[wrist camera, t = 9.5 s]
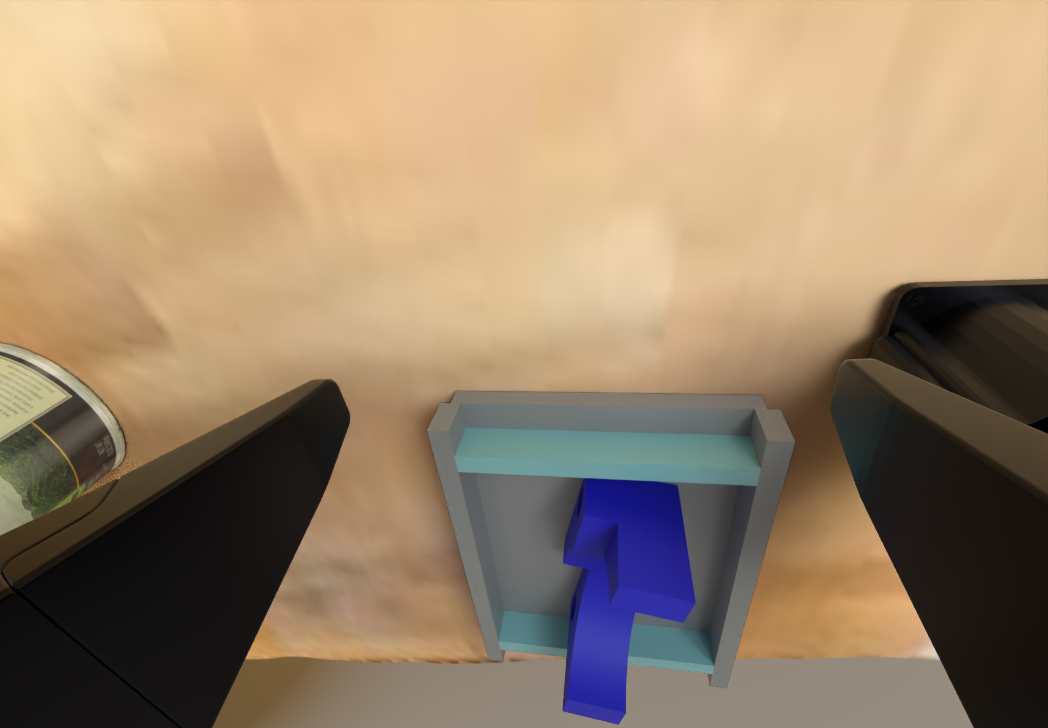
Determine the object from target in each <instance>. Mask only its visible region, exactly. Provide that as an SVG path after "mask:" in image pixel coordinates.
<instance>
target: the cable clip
mask: <svg viewBox="0 0 1048 728" xmlns="http://www.w3.org/2000/svg"><path fill="white" fill-rule="evenodd" d="M563 564H567V565H571V566H576V567H580V568H583V570H582V572H581V575H580V578H579V581H578V584H577V586H576V589H575V592H574V595H573V598H572V600H571V605H570V618H569V632H568V645H567V658H566V672H565V684H564V699H563V711H564V712H568V713H573V714H577V715H581V716H585V717H589V718H593V719H597V720H602V721H606V722H610V723H614V724H619V723H620V721H621V720H622V718H623V717H624V715H625V714H626V677H627V663H628V653H629V645H630V637H631V631H632V626H633V620H634V616H635V612H637V613H641V614H646V615H650V616H655V617H659V618H663V619H668V620H672V621H677V622H681V623H684V621H685V619H686V618H687V616H688V615H689V613H690V612H691V610H692V608H693V607H694V605H695V604H696V601H695V594H694V588H693V581H692V574H691V568H690V561H689V555H688V548H687V542H686V535H685V528H684V522H683V515H682V509H681V502H680V496H679V489H678V486H677V485H673V484H668V483H663V482H659V481H639V480H618V479H597V478H583V482H582V485H581V488H580V492H579V495H578V498H577V502H576V505H575V508H574V512H573V515H572V518H571V521H570V525H569V528H568V531H567V535H566V538H565V544H564V554H563Z"/></svg>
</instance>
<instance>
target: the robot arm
mask: <svg viewBox="0 0 1048 728" xmlns="http://www.w3.org/2000/svg"><path fill="white" fill-rule="evenodd" d="M913 294H918V296H917V297H916V299H914V300H912V301H909V302H907V300H908V299H909V297H910V296H912V295H913ZM831 414H832V417H833V420H834V423H835V426H836V429H837V432H838V435H839V438H840V441H841V444H842V446H843V449H844V452H845V455H846V458H847V461H848V464H849V467H850V470H851V473H852V475H853V478H854V481H855V484H856V487H857V489H858V492H859V495H860V497H861V499H862V501H863V504H864V506H865V508H866V510H867V512H868V514H869V516H870V518H871V520H872V522H873V524H874V526H875V528H876V530H877V533H878V535H879V537H880V539H881V541H882V543H883V545H884V547H885V549H886V551H887V553H888V555H889V557H890V559H891V561H892V563H893V565H894V567H895V569H896V571H897V573H898V575H899V577H900V579H901V581H902V583H903V585H904V587H905V589H906V591H907V593H908V595H909V597H910V599H911V601H912V604H913V606H914V608H915V610H916V612H917V614H918V616H919V618H920V620H921V622H922V624H923V626H924V628H925V630H926V632H927V634H928V636H929V638H930V640H931V642H932V644H933V646H934V648H935V650H936V652H937V654H938V656H939V658H940V660H941V662H942V664H943V666H944V668H945V670H946V672H947V674H948V676H949V679H950V681H951V683H952V685H953V687H954V689H955V691H956V693H957V695H958V697H959V699H960V701H961V703H962V705H963V707H964V709H965V711H966V713H967V715H968V717H969V719H970V721H971V723H972V725H973V727H974V728H1048V279H1037V280H997V281H957V282H918V283H909V284H907V285H904V286H902V287H901V288H900V289H899V290H898V291H897V292H896V294H895V296H894V298H893V301H892V304H891V307H890V310H889V313H888V316H887V318H886V321H885V324H884V327H883V330H882V333H881V336H880V337H879V338H878V339H877V340H876V341H875V342H874V345H873V348H872V351H871V353H870V356H869V359H848V360H845V361H844V362H842V364H841V365H840V368H839V371H838V375H837V379H836V383H835V387H834V391H833V395H832V399H831ZM349 423H350V412H349V409H348V407H347V405H346V402H345V400H344V398H343V396H342V393H341V391H340V389H339V386H338V384H337V383H336V382H335V381H334V380H332V379H318V380H312V381H309V382H307V383H305V384H303V385H301V386H299V387H297V388H295V389H293V390H291V391H289V392H287V393H285V394H283V395H282V396H280V397H278V398H276V399H274V400H272V401H270V402H268V403H266V404H264V405H262V406H260V407H258V408H256V409H254V410H252V411H250V412H248V413H246V414H244V415H242V416H240V417H238V418H236V419H234V420H232V421H230V422H228V423H226V424H224V425H222V426H220V427H218V428H216V429H214V430H212V431H210V432H208V433H206V434H204V435H202V436H200V437H198V438H196V439H194V440H192V441H190V442H188V443H186V444H184V445H183V446H181V447H179V448H177V449H175V450H173V451H171V452H169V453H167V454H165V455H163V456H161V457H159V458H157V459H155V460H153V461H151V462H149V463H147V464H145V465H143V466H141V467H139V468H137V469H135V470H133V471H131V472H129V473H127V474H125V475H123V476H122V477H121V478H120V479H115V480H113V481H111V482H109V483H107V484H105V485H103V486H101V487H99V488H97V489H95V490H93V491H91V492H89V493H87V494H85V495H83V496H81V497H79V498H77V499H75V500H73V501H71V502H69V503H67V504H65V505H63V506H61V507H59V508H57V509H55V510H53V511H51V512H48V513H46V514H44V515H42V516H40V517H38V518H36V519H34V520H32V521H29V522H27V523H25V524H23V525H21V526H19V527H17V528H15V529H13V530H10V531H8V532H6V533H4V534H2V535H0V728H212V727H213V725H214V723H215V721H216V719H217V716H218V715H219V713H220V710H221V708H222V706H223V704H224V702H225V700H226V698H227V696H228V694H229V692H230V690H231V687H232V685H233V683H234V681H235V679H236V677H237V675H238V673H239V671H240V668H241V666H242V664H243V662H244V660H245V658H246V656H247V654H248V652H249V650H250V648H251V646H252V643H253V641H254V639H255V637H256V635H257V633H258V631H259V629H260V627H261V625H262V623H263V620H264V618H265V616H266V614H267V612H268V610H269V608H270V606H271V604H272V602H273V599H274V597H275V595H276V593H277V591H278V589H279V587H280V585H281V583H282V581H283V579H284V576H285V574H286V572H287V570H288V568H289V566H290V564H291V562H292V560H293V558H294V556H295V553H296V551H297V549H298V547H299V545H300V543H301V541H302V539H303V537H304V535H305V532H306V530H307V528H308V526H309V524H310V522H311V520H312V518H313V516H314V514H315V512H316V509H317V507H318V505H319V503H320V501H321V499H322V497H323V494H324V492H325V490H326V487H327V485H328V482H329V480H330V477H331V474H332V471H333V469H334V466H335V463H336V460H337V457H338V455H339V452H340V449H341V446H342V443H343V441H344V438H345V435H346V432H347V429H348V427H349Z"/></svg>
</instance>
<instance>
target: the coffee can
mask: <svg viewBox="0 0 1048 728" xmlns="http://www.w3.org/2000/svg"><path fill="white" fill-rule="evenodd" d="M125 452H126V445H125V439H124V435H123V432H122V430H121V428H120V426H119V424H118V422H117V421H116V419H115V417H114V415H113V414H112V412H111V411H110V410H109V409H108V407H107V406H106V405H105V404H104V403H103V401H102V400H101V399H100V398H99V397H98V396H97V395H96V394H95V393H94V392H93V391H92V390H91V389H90V388H89V387H87V386H86V385H85V384H84V383H82V382H81V381H80V380H79V379H78V378H76V377H75V376H73V375H72V374H71V373H69V372H68V371H66V370H65V369H63V368H62V367H60V366H58V365H57V364H55V363H53V362H52V361H50V360H48V359H46V358H44V357H42V356H40V355H37V354H35V353H33V352H31V351H28V350H26V349H23V348H20V347H18V346H14V345H10V344H3V343H0V535H2V534H4V533H6V532H8V531H10V530H13V529H15V528H17V527H19V526H21V525H23V524H25V523H27V522H29V521H32V520H34V519H36V518H38V517H40V516H42V515H44V514H46V513H48V512H51V511H53V510H55V509H57V508H59V507H61V506H63V505H65V504H67V503H69V502H71V501H73V500H75V499H76V498H77V497H79V496H80V495H81V494H82V493H84V492H85V491H86V490H87V489H88V488H89V487H91V486H92V485H93V484H94V483H96V482H97V481H98V480H99V479H100V478H102V477H103V476H104V475H105V474H107V473H108V472H109V471H111V470H113V469H114V468H116V467H117V466H118V465H119V464H120V463H121V462H122V460H123V459H124V456H125Z"/></svg>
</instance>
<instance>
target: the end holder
mask: <svg viewBox="0 0 1048 728" xmlns="http://www.w3.org/2000/svg"><path fill="white" fill-rule="evenodd" d="M427 433H428V436H429V440H430V444H431V447H432V451H433V455H434V459H435V462H436V466H437V470H438V473H439V477H440V481H441V485H442V488H443V492H444V496H445V499H446V503H447V507H448V511H449V514H450V518H451V522H452V525H453V529H454V533H455V537H456V540H457V544H458V548H459V551H460V555H461V559H462V562H463V566H464V570H465V574H466V577H467V581H468V585H469V588H470V592H471V596H472V600H473V603H474V607H475V611H476V614H477V618H478V622H479V626H480V629H481V633H482V637H483V640H484V644H485V648H486V651H487V655H488V659H489V660H497V661H503V660H504V654H505V650H509V651H517V652H526V653H534V654H543V655H552V656H560V657H567V645H568V632H569V618H570V605H571V600H572V598H573V595H574V592H575V589H576V586H577V584H578V581H579V578H580V575H581V572H582V570H583V568H580V567H576V566H571V565H567V564H563V554H564V544H565V538H566V535H567V531H568V528H569V525H570V521H571V518H572V515H573V512H574V508H575V505H576V502H577V498H578V495H579V492H580V488H581V485H582V482H583V478H597V479H618V480H639V481H659V482H663V483H668V484H673V485H677V486H678V489H679V496H680V502H681V509H682V515H683V522H684V528H685V535H686V542H687V548H688V555H689V561H690V568H691V574H692V581H693V588H694V594H695V601H696V604H695V605H694V607H693V608H692V610H691V612H690V613H689V615H688V616H687V618H686V619H685V621H684V623H681V622H677V621H672V620H668V619H663V618H659V617H655V616H650V615H646V614H641V613H637V612H635V616H634V620H633V626H632V631H631V637H630V645H629V653H628V663H627V664H629V665H638V666H647V667H655V668H664V669H672V670H680V671H690V672H698V673H706V674H708V678H709V685H710V686H713V687H720V688H727V686H728V683H729V678H730V675H731V672H732V668H733V665H734V661H735V657H736V654H737V650H738V647H739V643H740V639H741V636H742V632H743V629H744V625H745V621H746V618H747V614H748V611H749V607H750V603H751V600H752V596H753V593H754V589H755V585H756V582H757V578H758V575H759V571H760V567H761V564H762V560H763V557H764V553H765V549H766V546H767V542H768V539H769V535H770V531H771V528H772V524H773V521H774V517H775V513H776V510H777V506H778V503H779V499H780V495H781V492H782V488H783V485H784V481H785V477H786V474H787V470H788V467H789V463H790V459H791V456H792V452H793V449H794V445H795V440H794V437H793V435H792V433H791V431H790V429H789V427H788V425H787V423H786V420H785V418H784V416H783V414H782V412H781V410H780V409H767V407H766V405H765V402H764V400H763V398H762V395H728V394H656V393H584V392H512V391H456V392H455V394H454V397H453V399H452V401H451V403H440V405H439V407H438V409H437V411H436V413H435V415H434V417H433V419H432V421H431V423H430V425H429V427H428V429H427Z"/></svg>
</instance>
